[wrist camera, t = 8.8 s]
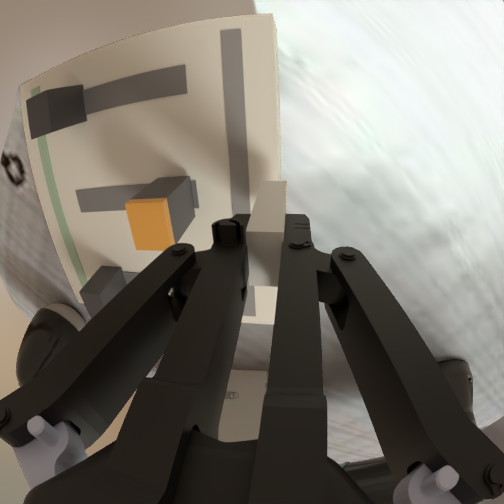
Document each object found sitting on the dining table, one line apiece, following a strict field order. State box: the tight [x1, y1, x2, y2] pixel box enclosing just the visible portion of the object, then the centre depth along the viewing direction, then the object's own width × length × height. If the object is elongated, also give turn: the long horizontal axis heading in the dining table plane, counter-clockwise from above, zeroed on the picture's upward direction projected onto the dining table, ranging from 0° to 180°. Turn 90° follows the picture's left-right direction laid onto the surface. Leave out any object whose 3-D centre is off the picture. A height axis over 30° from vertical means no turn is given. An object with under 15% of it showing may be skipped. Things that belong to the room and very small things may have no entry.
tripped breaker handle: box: [125, 176, 195, 251], centre depth 17 cm, size 2×3×5 cm
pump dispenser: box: [16, 303, 86, 387], centre depth 32 cm, size 10×10×15 cm
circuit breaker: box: [218, 370, 268, 442], centre depth 34 cm, size 8×14×15 cm, turn 97°
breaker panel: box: [19, 14, 281, 325], centre depth 20 cm, size 22×24×9 cm
